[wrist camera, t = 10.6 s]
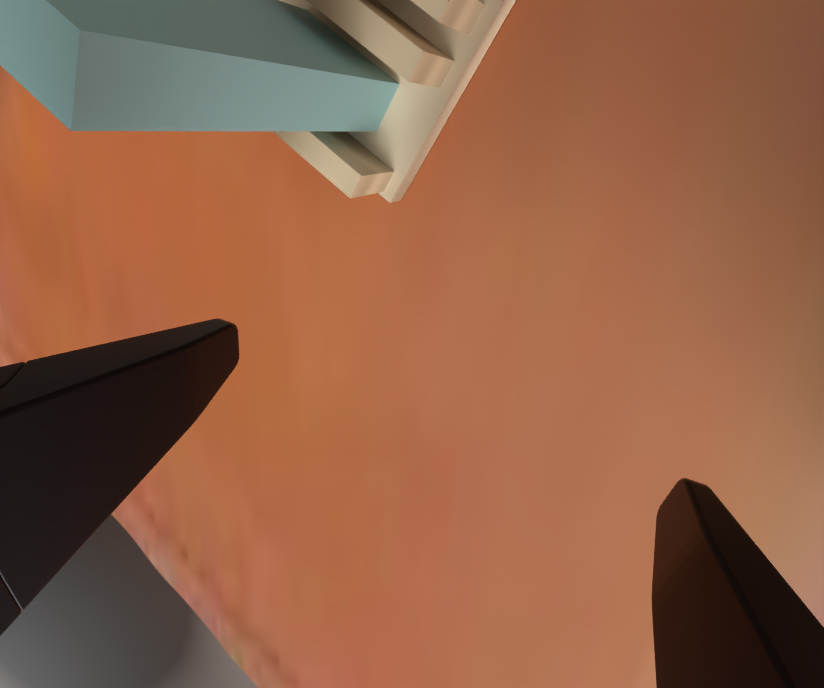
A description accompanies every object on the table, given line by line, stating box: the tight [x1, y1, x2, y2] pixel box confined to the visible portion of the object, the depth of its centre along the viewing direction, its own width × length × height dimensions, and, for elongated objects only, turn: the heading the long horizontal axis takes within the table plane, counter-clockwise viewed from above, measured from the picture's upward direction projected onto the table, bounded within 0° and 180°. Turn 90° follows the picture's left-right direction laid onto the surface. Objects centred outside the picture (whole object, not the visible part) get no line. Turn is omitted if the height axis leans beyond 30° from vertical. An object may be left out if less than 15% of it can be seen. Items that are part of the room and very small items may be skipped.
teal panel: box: [0, 0, 399, 131], centre depth 14 cm, size 5×2×12 cm, turn 57°
